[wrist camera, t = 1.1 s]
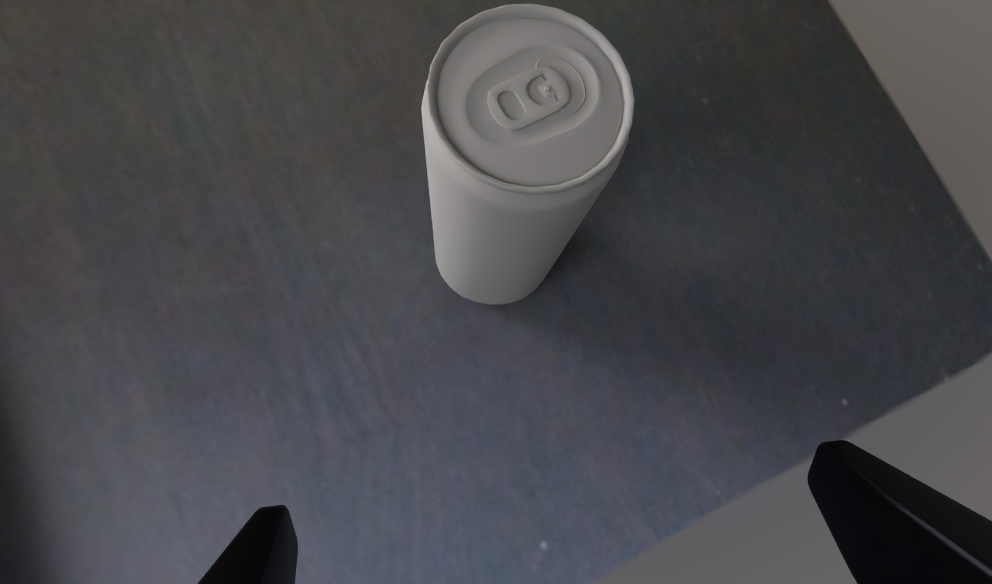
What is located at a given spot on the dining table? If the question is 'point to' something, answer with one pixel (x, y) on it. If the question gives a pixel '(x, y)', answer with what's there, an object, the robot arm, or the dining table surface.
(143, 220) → the dining table surface
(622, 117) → the beverage can
